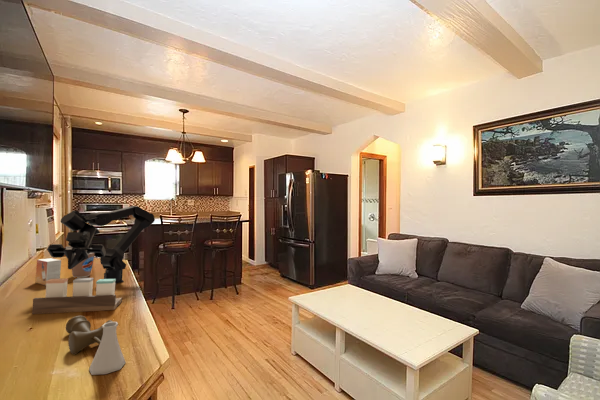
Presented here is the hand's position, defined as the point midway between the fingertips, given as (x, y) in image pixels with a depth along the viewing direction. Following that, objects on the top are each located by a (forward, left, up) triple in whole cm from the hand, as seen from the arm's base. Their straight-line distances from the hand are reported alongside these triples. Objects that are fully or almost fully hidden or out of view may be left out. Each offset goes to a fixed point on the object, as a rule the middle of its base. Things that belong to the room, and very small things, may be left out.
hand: (69, 268), depth 111 cm
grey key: (-1, +12, -10) cm, 16 cm away
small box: (-1, -32, -12) cm, 34 cm away
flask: (+9, +61, -12) cm, 63 cm away
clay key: (+5, +7, -10) cm, 13 cm away
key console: (0, +13, -12) cm, 18 cm away
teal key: (-6, +19, -10) cm, 22 cm away
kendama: (+8, +44, -12) cm, 47 cm away
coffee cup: (-15, -36, -12) cm, 41 cm away
